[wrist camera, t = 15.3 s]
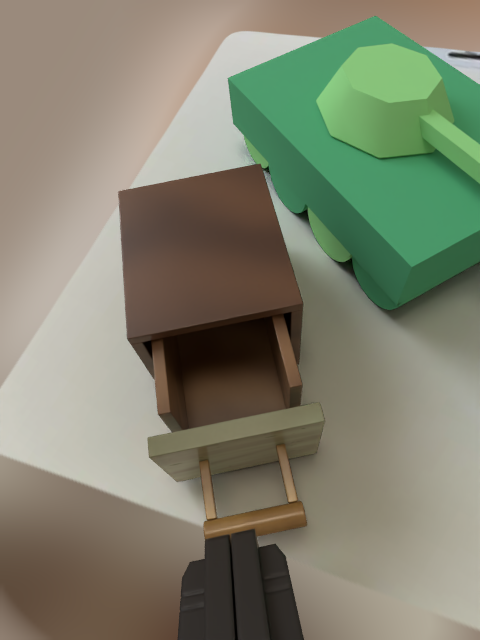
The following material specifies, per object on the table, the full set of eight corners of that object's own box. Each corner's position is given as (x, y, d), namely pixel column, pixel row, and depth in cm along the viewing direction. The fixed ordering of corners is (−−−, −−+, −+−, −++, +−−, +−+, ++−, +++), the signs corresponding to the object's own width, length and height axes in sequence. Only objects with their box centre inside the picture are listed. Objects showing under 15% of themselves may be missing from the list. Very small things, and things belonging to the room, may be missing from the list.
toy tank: (525, 325, 24) (223, 38, 40) (452, 401, 35) (236, 149, 51) (748, 189, 27) (382, -26, 43) (618, 298, 38) (363, 92, 54)
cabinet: (299, 364, 37) (303, 303, 29) (162, 392, 37) (126, 339, 29) (265, 240, 44) (260, 162, 36) (149, 263, 44) (117, 191, 35)
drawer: (336, 525, 30) (351, 510, 23) (184, 557, 30) (156, 552, 23) (278, 310, 39) (277, 254, 32) (161, 334, 39) (135, 282, 32)
